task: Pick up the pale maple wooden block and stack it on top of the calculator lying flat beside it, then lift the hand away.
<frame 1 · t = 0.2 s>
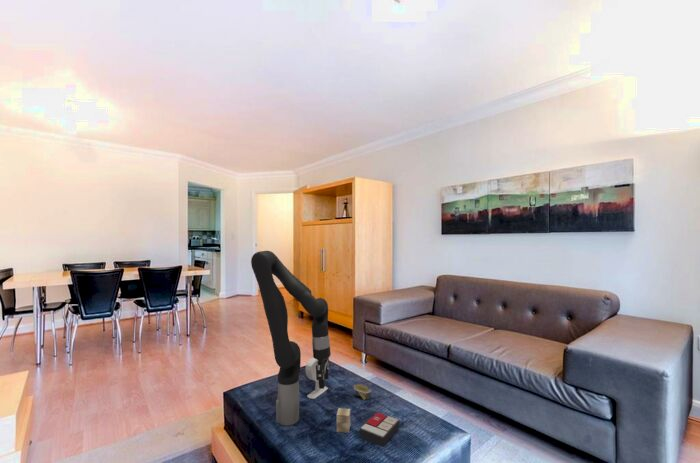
hand: (324, 383, 135), 17 cm above the table, tool pointing down, fingers open, 8 cm apart
olive plastic tub: (361, 399, 156), on the table
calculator: (379, 433, 129), on the table
maple block: (343, 428, 131), on the table
heart sculpture: (317, 392, 162), on the table
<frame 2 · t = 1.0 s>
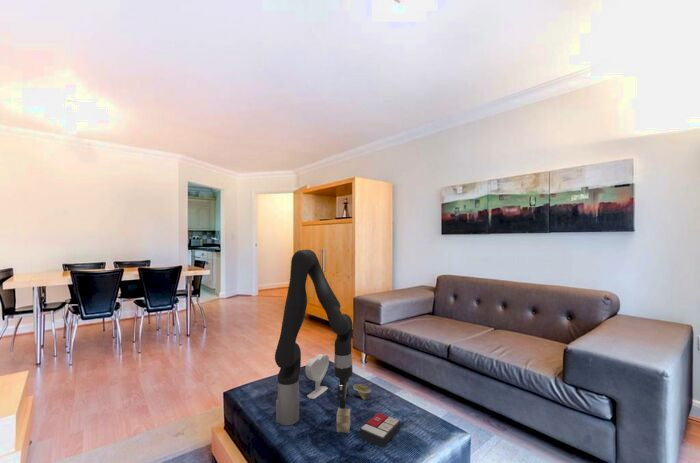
hand: (344, 402, 131), 11 cm above the table, tool pointing down, fingers open, 8 cm apart
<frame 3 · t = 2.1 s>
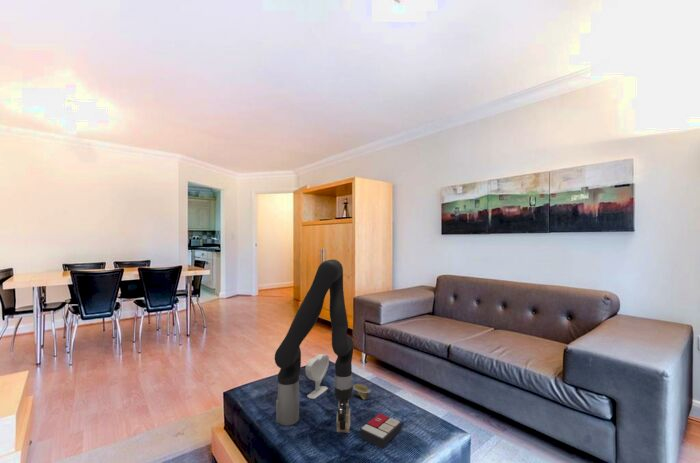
hand: (343, 425, 131), 1 cm above the table, tool pointing down, fingers closed on maple block, 5 cm apart
maple block: (343, 428, 131), on the table, touching gripper
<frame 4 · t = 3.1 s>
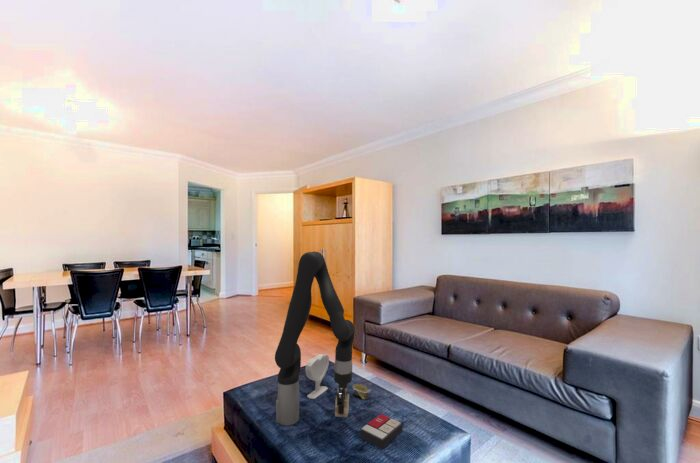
hand: (342, 409, 131), 8 cm above the table, tool pointing down, fingers closed on maple block, 5 cm apart
maple block: (341, 413, 131), point 6 cm above the table, touching gripper
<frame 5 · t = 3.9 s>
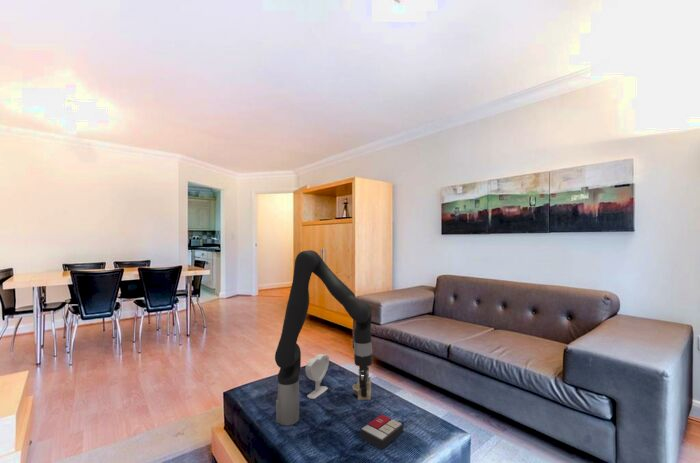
hand: (364, 393, 130), 15 cm above the table, tool pointing down, fingers closed on maple block, 5 cm apart
maple block: (364, 396, 130), point 14 cm above the table, touching gripper
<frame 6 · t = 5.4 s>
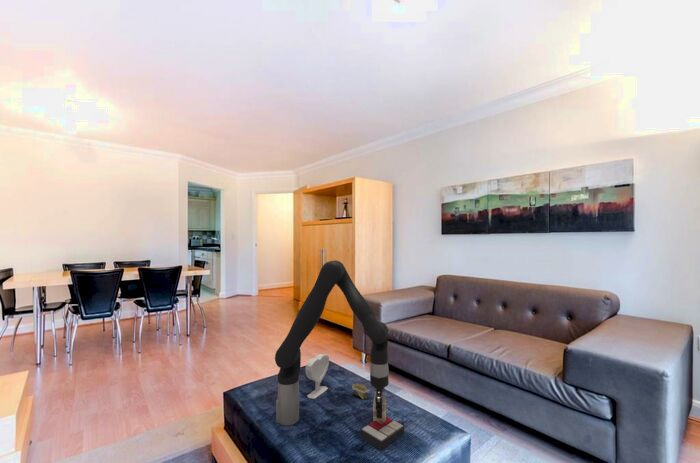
hand: (379, 413, 129), 7 cm above the table, tool pointing down, fingers closed on maple block, 5 cm apart
maple block: (379, 417, 129), point 6 cm above the table, touching gripper
when the fingers open (7 cm above the table, at t = 5.9 s): maple block drops 2 cm, resting on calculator.
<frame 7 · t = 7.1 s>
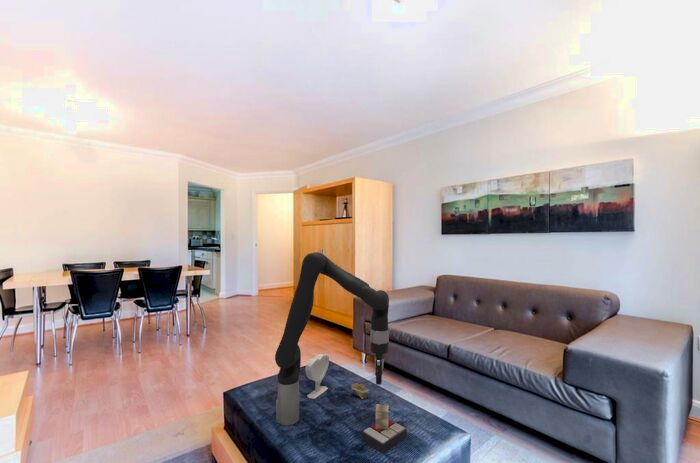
hand: (379, 379, 129), 21 cm above the table, tool pointing down, fingers open, 8 cm apart
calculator: (384, 439, 125), on the table, touching maple block
maple block: (382, 425, 128), point 4 cm above the table, touching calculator
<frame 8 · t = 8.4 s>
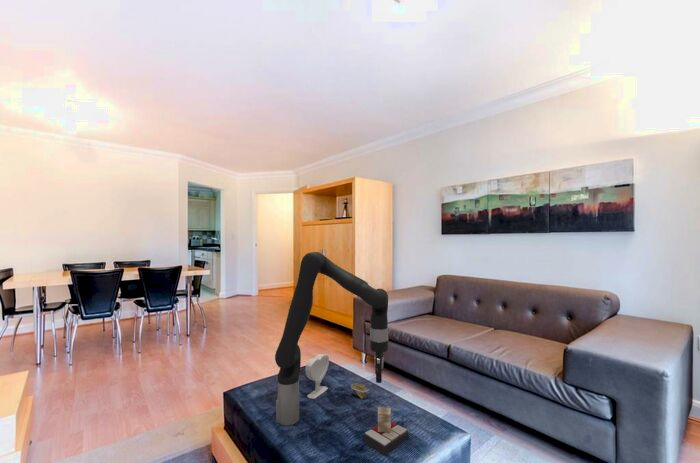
hand: (379, 377, 129), 22 cm above the table, tool pointing down, fingers open, 8 cm apart
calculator: (386, 441, 124), on the table
maple block: (384, 428, 126), point 4 cm above the table
at the end: maple block inside the target area on the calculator (1.3 cm from its centre), point 4.4 cm above the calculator's base; maple block tilted 0°; maple block touching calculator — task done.
